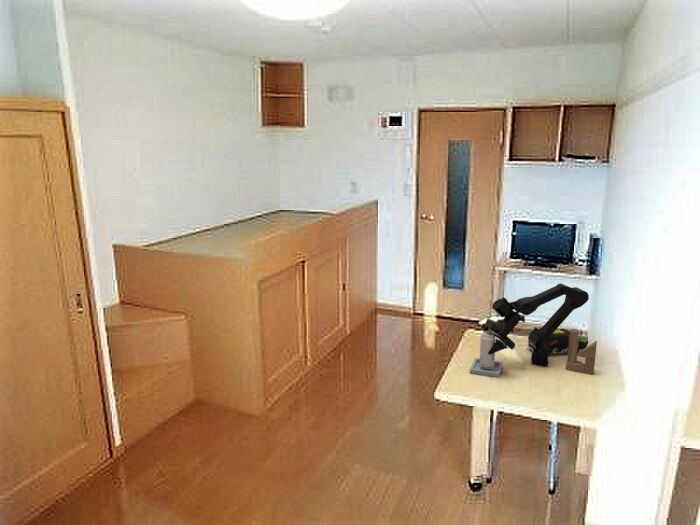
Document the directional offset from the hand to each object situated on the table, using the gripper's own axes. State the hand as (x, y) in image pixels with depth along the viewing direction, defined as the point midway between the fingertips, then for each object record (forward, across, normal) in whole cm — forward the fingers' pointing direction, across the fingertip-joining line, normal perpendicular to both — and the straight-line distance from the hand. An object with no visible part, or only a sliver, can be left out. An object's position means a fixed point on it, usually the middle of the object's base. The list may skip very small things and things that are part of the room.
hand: (484, 351), depth 220 cm
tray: (+5, 0, +7) cm, 9 cm away
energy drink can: (+4, 0, +6) cm, 7 cm away
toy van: (-23, -7, +37) cm, 44 cm away
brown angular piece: (-20, +14, +34) cm, 41 cm away
